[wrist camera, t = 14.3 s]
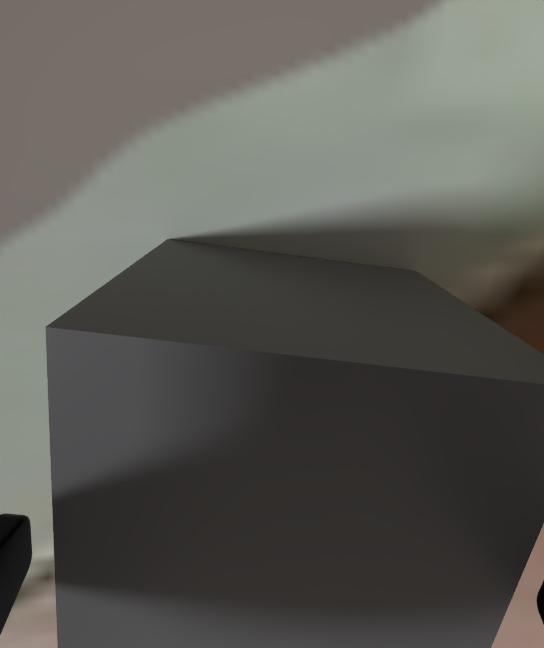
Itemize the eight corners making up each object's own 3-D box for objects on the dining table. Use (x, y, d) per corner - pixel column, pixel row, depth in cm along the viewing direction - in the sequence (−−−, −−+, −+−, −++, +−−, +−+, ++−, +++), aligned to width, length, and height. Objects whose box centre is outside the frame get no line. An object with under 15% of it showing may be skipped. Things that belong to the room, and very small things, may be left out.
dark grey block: (366, 475, 16) (454, 732, 9) (155, 455, 16) (60, 709, 8) (416, 271, 14) (599, 390, 6) (167, 239, 13) (46, 327, 6)
